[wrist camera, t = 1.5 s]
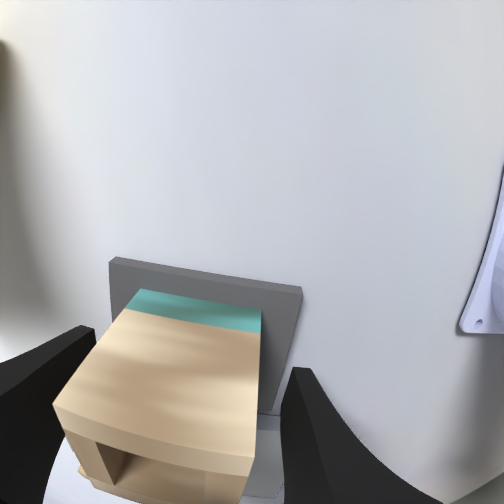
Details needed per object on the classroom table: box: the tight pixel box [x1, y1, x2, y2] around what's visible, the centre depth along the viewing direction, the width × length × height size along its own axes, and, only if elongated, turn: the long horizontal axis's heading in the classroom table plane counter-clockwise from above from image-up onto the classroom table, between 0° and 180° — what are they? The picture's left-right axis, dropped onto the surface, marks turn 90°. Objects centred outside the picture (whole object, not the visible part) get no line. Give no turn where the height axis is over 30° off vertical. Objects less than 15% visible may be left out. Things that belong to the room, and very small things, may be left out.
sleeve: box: [53, 288, 261, 504], centre depth 8 cm, size 4×4×6 cm
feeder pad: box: [109, 257, 303, 411], centre depth 12 cm, size 7×6×1 cm
